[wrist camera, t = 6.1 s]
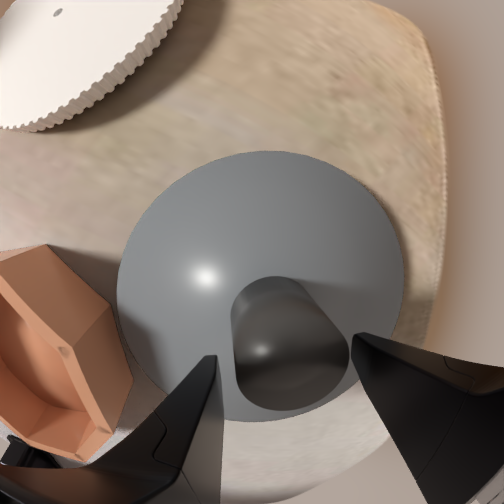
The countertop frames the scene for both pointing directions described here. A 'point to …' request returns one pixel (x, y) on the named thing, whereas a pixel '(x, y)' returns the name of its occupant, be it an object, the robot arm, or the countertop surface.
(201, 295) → the cover
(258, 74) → the countertop surface
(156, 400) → the countertop surface
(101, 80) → the plastic lid
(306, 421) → the countertop surface
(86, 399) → the bowl
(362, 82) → the countertop surface
